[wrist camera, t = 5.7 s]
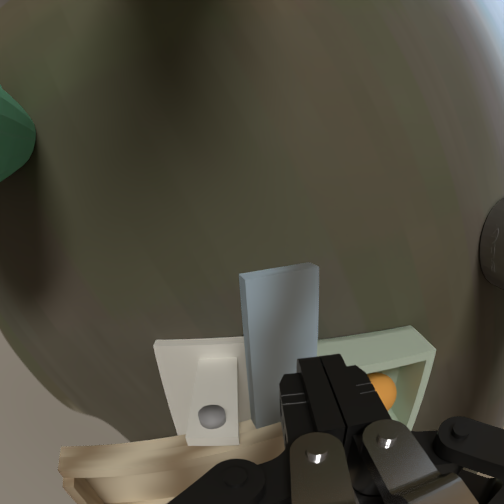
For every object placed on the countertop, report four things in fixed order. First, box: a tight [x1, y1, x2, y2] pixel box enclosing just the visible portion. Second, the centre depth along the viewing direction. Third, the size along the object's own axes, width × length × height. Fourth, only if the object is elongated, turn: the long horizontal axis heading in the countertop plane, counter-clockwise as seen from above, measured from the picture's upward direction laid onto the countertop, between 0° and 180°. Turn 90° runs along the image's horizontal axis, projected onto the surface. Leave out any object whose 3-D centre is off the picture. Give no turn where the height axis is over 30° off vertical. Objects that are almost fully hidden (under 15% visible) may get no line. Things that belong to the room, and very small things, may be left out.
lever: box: [58, 262, 319, 504], centre depth 15 cm, size 17×17×3 cm
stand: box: [153, 336, 251, 446], centre depth 21 cm, size 10×12×10 cm
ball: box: [367, 373, 397, 411], centre depth 23 cm, size 4×4×4 cm
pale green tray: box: [317, 325, 436, 431], centre depth 23 cm, size 10×10×4 cm
